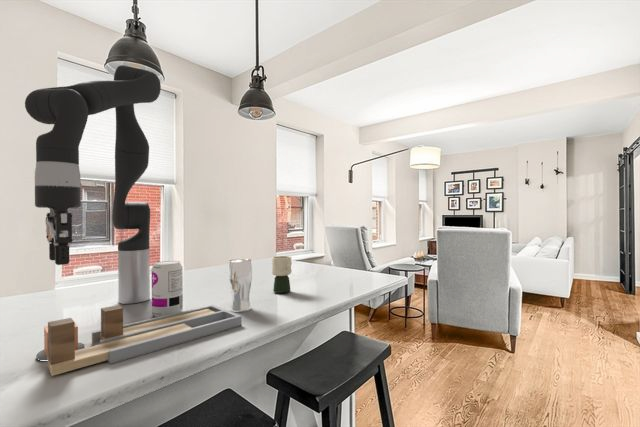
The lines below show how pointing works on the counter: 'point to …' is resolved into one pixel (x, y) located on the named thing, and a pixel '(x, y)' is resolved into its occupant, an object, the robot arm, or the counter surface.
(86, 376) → the counter surface
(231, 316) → the lane frame
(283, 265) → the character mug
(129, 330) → the oak strip
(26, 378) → the counter surface
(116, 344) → the oak strip
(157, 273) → the supplement can
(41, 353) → the slate coaster
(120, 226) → the robot arm
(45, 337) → the rust cube
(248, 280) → the beer glass
